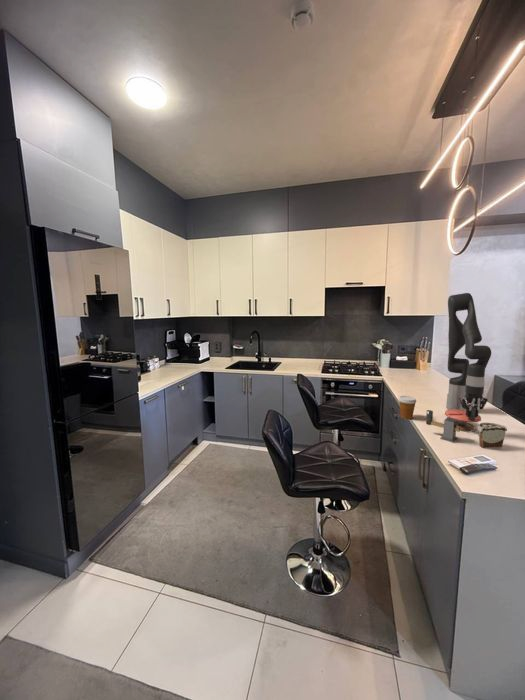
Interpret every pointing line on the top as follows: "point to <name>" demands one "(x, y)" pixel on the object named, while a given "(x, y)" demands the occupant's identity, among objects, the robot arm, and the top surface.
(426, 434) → the top surface
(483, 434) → the food container
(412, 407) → the disposable coffee cup
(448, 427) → the eye block
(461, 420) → the handwheel
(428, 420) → the hook
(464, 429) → the pedestal
